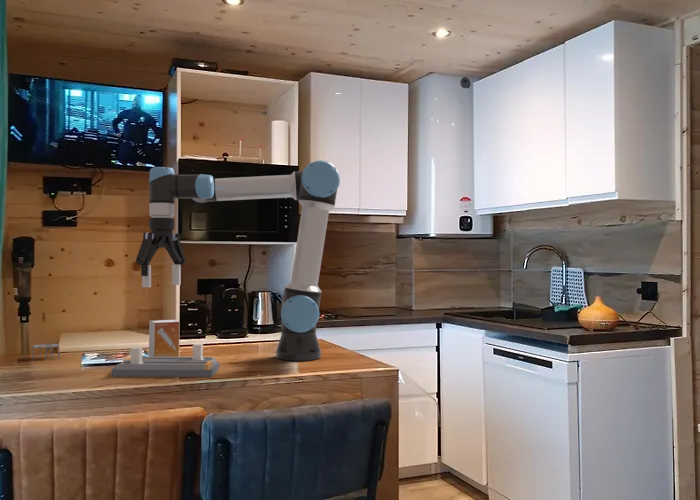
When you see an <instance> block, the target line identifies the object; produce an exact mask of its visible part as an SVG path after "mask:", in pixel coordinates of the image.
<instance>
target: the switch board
mask: <svg viewBox="0 0 700 500" xmlns="http://www.w3.org/2000/svg"><path fill="white" fill-rule="evenodd" d="M203 358H204V360H192V359H193V356H179V357H149V356H142V362H143V364H130V360H131V356H128V357H126V358H124V359H123V360H122V362H120V363H118V364H115V366H114V368H112V369H111V370H110V371H111V373H110V374H111V377H113V378H116V377H117V378H119V377H120V378H122V377H123V378H126V377H127V378H130V377H131V378H213V376H214V375H215V374H216V373H217V372H218V371H219V370H220V369H219V368H220V365H221V363H220V361H217V358H214V356H203ZM218 369H219V370H218ZM217 370H218V371H217Z"/></svg>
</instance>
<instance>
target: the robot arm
mask: <svg viewBox="0 0 700 500" xmlns="http://www.w3.org/2000/svg"><path fill="white" fill-rule="evenodd" d="M340 181H341V177H340V174H339V170H337V168H336V167H335V165H334V164H332V163H331V162H328V161H326V160H315V161H312V162H310V163H309V164H308V165H306V166H305V167H304V169H303V170H300V171H299V170H298V171H293V172H292V173H291V174H282V175H281V174H280V175H262V176H261V175H260V176H240V177H224V178H222V177H221V178H214V176H213V175H211V174H203V173H200V174H178V173H175V169H174V168H172V167H167V166H153V167H151V169H150V170H149V179H148V193H149V194H148V196H149V201H148V202H149V205H148V206H149V209H148V211H149V217H150V218H149V222H148V225H149V226H148V227H149V228H148V229H149V230H150V231H149V232H146V231H145V232H143V237H142V240H141V244H140V248H139V250H138V253H137V255H136V258H135V263H136V264H137V265H138V266H140V275H141V277H142V278H141V279H142V280H141V287H142V288H152V265H151V264H150V263H151V261H152V259H153V258H154V257H155V255H156V253H157V251H158V249H160V248H164V249H165V250H166V252H167V254H168V255H169V257H170V259H171V261H172V263H174V264H172V265H171V268H172V272H171V273H172V274H171V277H172V278H171V279H172V280H171V281H172V286H181V283H182V282H181V279H182V276H181V275H182V265H184V264H185V263H186V262H187V259H186V256H185V253H184V249H183V246H182V243H181V241H180V239H181V238H180V234H179V233H173V231H174V230H175V229H176V228H175V218H174V217H175V214H176V213H175V211H176V210H175V205H176V204H175V199H183V200H184V199H185V200H186V199H188V200H189V199H190V200H191V199H192V201H194V202H196V203H199V204H205V203H208V202H219V201H220V202H223V201H224V202H225V201H243V200H244V201H245V200H246V201H247V200H260V199H261V200H263V199H264V200H265V199H286V198H292V199H293V200H295V201H298V203H299V204H300V205H301V214H300V219H299V227H298V233H297V240H296V245H295V246H296V247H295V252H294V260H293V265H292V272H291V280H290V282H289V283H287V284H286V285H285V286H284V289H283V290H282V293H281V297H280V299H281V309H280V319H281V334H280V335H281V336H280V338H279V340H278V341H279V342H278V344H277V348H276V351H275V358H276V359H278V360H283V361H293V362H294V361H295V362H297V361H298V362H300V361H301V362H305V361H313V360H314V361H315V360H318V359H321V357H322V350H321V347H320V344H319V341H318V337H317V323H318V322H319V319H320V304H321V299H322V298H321V297H322V290H321V289H320V287H319V279H320V272H321V266H322V260H323V259H322V258H323V252H324V246H325V242H326V241H325V240H326V234H327V233H326V232H327V226H328V221H329V216H330V215H329V214H330V211H331V210H333V209H334V208H335V205H336V200H337V193H338V188H339V187H340V183H341V182H340Z"/></svg>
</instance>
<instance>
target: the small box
mask: <svg viewBox="0 0 700 500" xmlns="http://www.w3.org/2000/svg"><path fill="white" fill-rule="evenodd" d="M148 322H149V324H148V325H149V326H148V328H149V329H148V333H149V334H148V357H180V356H179V355H180V321H178V320H176V319H158V320H149V321H148Z"/></svg>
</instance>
